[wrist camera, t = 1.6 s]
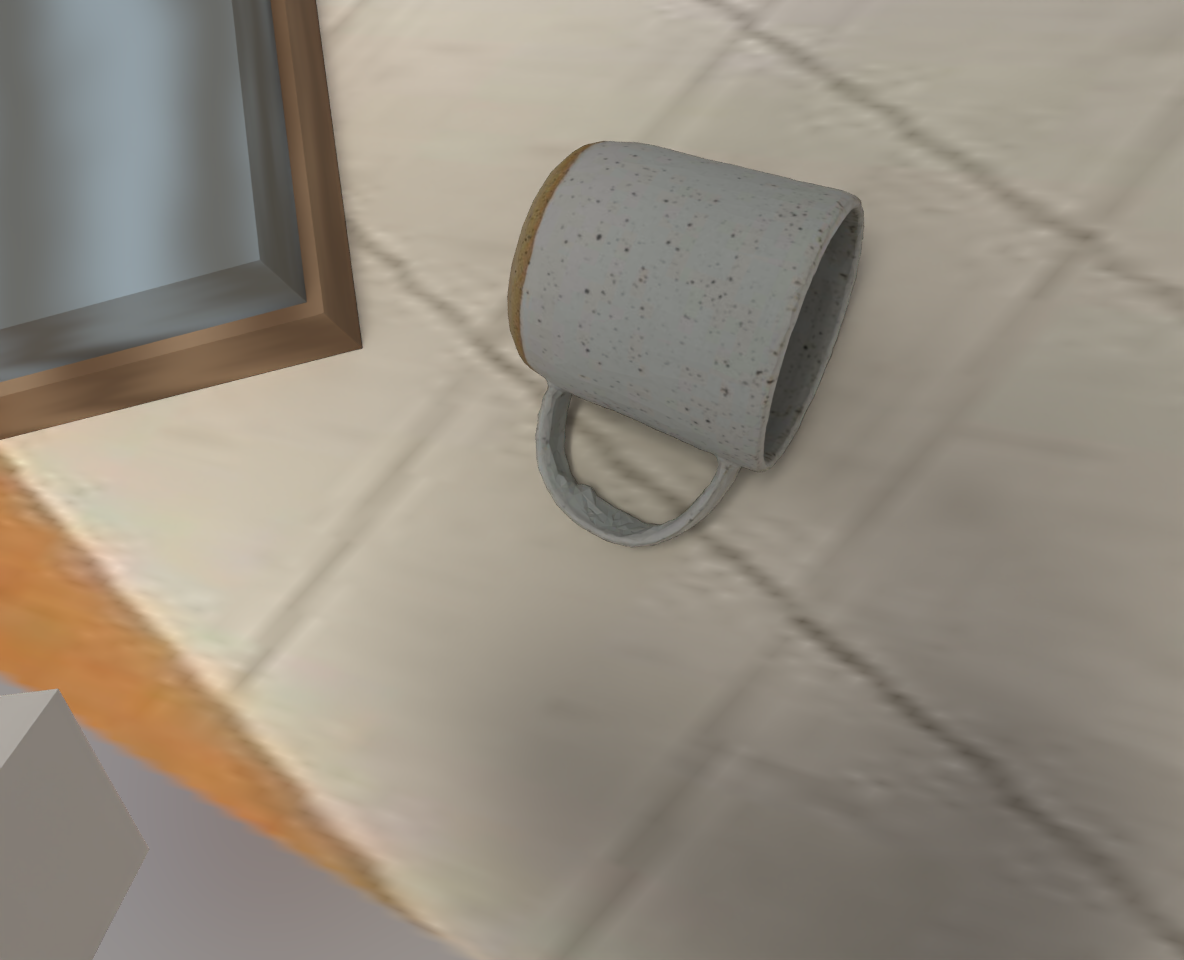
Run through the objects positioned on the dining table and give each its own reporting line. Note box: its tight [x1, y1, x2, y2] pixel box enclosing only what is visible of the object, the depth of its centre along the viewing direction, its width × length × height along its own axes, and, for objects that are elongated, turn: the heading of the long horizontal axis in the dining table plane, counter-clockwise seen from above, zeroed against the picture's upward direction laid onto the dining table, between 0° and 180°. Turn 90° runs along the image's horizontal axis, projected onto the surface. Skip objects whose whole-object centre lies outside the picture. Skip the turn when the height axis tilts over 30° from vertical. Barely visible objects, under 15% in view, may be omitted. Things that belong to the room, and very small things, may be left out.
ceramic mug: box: [507, 141, 864, 547], centre depth 30 cm, size 11×8×8 cm
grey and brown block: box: [0, 0, 362, 440], centre depth 36 cm, size 15×15×6 cm
